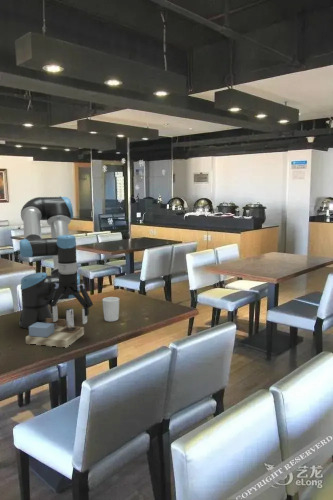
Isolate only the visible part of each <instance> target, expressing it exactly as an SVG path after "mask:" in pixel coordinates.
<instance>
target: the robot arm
mask: <svg viewBox="0 0 333 500" xmlns="http://www.w3.org/2000/svg"><path fill="white" fill-rule="evenodd" d="M73 210H74V209H73V206H72V202H71V199H70V198H69V197H68V196H39V197H38V196H37V197H34V198H32V199H29V200H28V201H27V202H26V203H24V205H23V206H22V207H21V209H20V219H21V220H22V222H23V239H20V240H19V255H20V257H22V258H37V257H53V258H52V259H53V269H52V270H51V272H50V273H51V275H48V273H46V272H45V271H44V272H34V273H31V274H28V275H24V276H23V277H22V278H21V280H20V292H21V312H20V316H19V320H18V325H19V327H20V328H22V329H28V330H29V326H31V325H33V324H34V323H36V322H41V323H46V318H53V322H55V321H57V320H58V319H59V315H58V313H59V312H58V305H57V303H58V301H59V300H71V299H76V300H77V301H78V302H79V304H80V305H81V306H82V307H83V308H82V309H81V311H82V325H86V324H87V323H88V316H89V315H90V314H89V313H90V308H91V307H93V306H94V304H93V302H92V299H91V298H90V295H89V293H88V291H87V289H86V284H85V283H82V284H81V274H80V273H79V272H77V271H78V264H77V263H78V262H77V261H78V260H77V241H76V239H77V237H76V236H75V235H74V234H70V232H69V231H70V229H69V225H70V223H71V222H72V221H71V220H73V219H74V211H73ZM41 221H46V224H47V225H49V226H50V235H51V238H43V234H42V227H41Z"/></svg>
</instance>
